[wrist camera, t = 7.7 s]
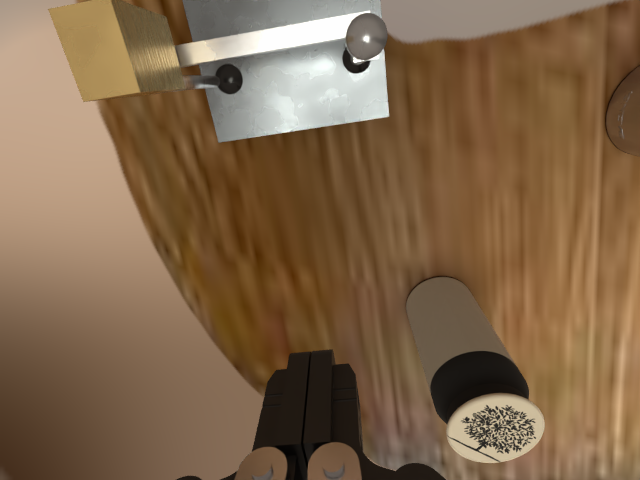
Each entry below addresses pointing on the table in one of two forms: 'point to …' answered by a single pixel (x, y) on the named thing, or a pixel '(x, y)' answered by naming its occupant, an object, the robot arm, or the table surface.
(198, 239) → the table surface
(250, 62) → the bolt plate
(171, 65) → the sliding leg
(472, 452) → the travel mug
